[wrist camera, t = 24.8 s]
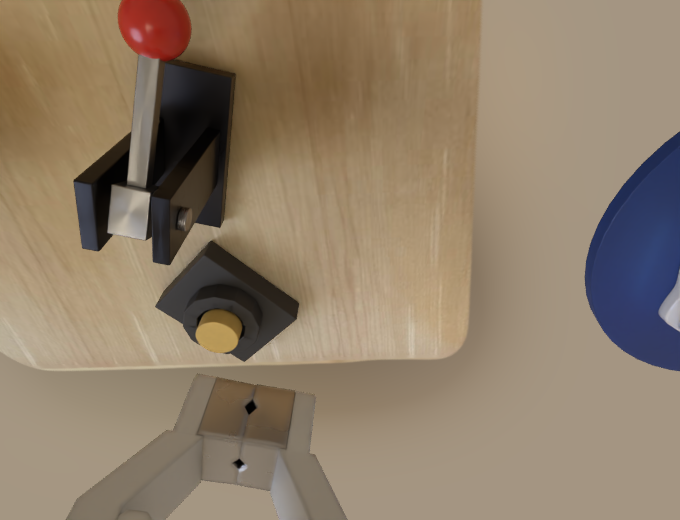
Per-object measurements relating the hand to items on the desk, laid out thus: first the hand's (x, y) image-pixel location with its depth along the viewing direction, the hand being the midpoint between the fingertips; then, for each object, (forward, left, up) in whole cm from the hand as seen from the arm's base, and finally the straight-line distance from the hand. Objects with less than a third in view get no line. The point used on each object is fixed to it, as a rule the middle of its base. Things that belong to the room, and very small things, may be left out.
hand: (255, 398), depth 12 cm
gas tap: (+5, +10, -26) cm, 28 cm away
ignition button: (-6, +20, -22) cm, 30 cm away
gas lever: (+7, +6, -19) cm, 21 cm away
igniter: (-6, +20, -26) cm, 33 cm away
